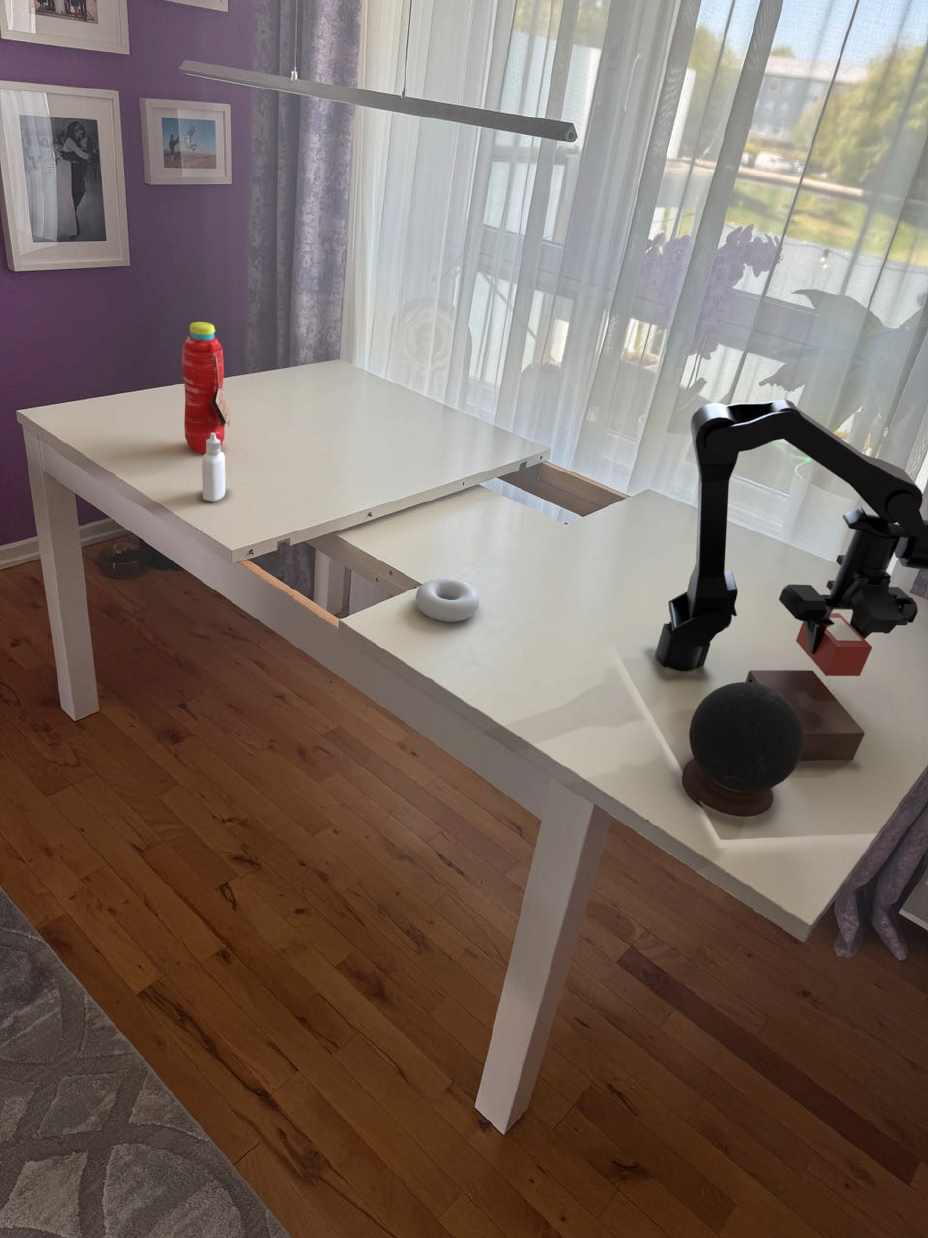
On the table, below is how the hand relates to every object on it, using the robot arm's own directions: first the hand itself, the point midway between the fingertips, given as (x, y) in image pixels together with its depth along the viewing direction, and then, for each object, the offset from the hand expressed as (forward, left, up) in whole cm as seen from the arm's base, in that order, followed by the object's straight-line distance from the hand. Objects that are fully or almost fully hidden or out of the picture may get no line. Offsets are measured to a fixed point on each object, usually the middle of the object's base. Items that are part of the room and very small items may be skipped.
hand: (828, 652), depth 133 cm
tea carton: (0, 0, -1) cm, 1 cm away
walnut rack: (-9, -10, -6) cm, 15 cm away
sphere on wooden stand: (-24, -21, -7) cm, 32 cm away
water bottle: (-92, +80, -7) cm, 122 cm away
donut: (-53, +21, -7) cm, 57 cm away
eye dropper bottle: (-90, +59, -7) cm, 108 cm away
